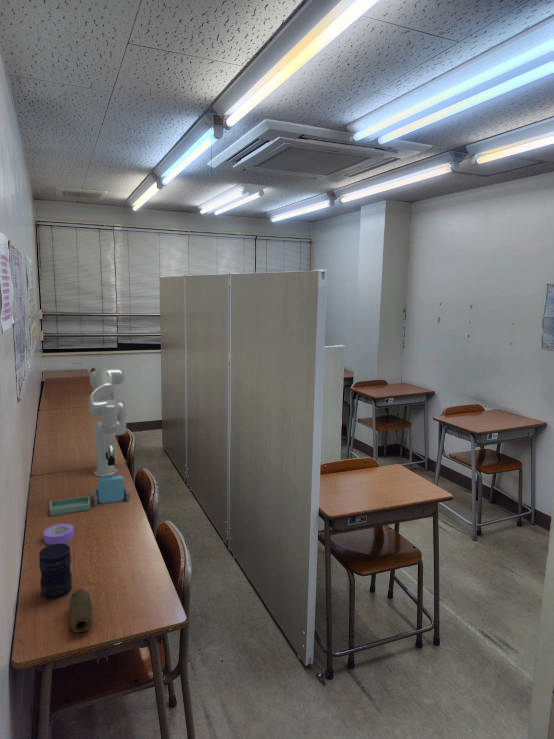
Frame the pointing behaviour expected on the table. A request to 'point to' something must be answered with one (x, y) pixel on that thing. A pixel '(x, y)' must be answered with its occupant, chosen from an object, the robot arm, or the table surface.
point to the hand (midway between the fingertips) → (110, 462)
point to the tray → (69, 505)
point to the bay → (95, 497)
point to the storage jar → (55, 571)
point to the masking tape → (59, 534)
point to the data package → (110, 489)
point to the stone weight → (80, 611)
